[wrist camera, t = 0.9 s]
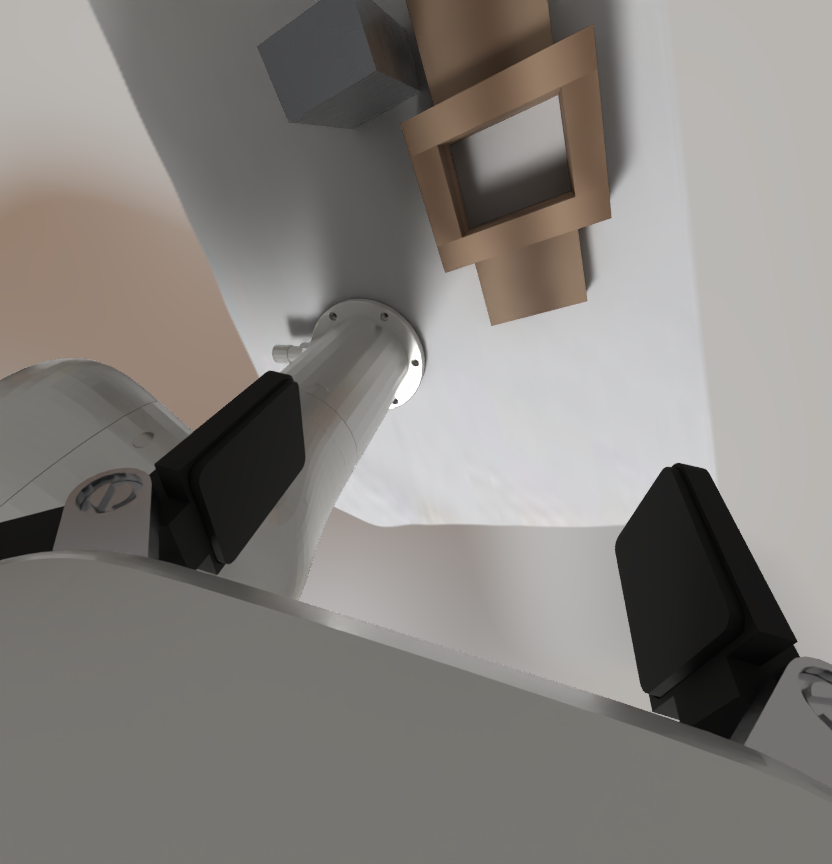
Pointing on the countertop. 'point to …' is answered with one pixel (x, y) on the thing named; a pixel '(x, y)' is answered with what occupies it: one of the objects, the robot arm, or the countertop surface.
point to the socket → (490, 104)
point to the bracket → (340, 64)
